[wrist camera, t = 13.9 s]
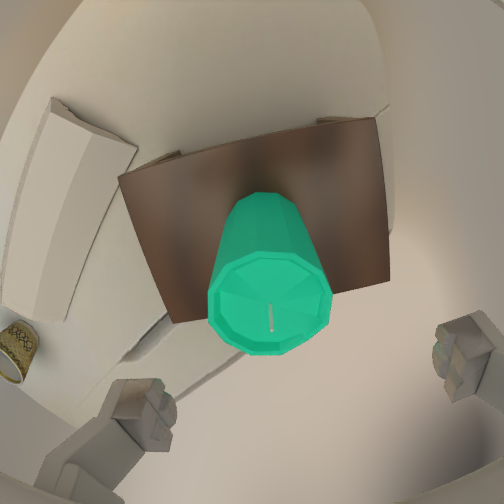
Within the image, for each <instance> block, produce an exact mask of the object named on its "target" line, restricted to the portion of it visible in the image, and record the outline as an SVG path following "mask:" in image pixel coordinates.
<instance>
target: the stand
mask: <svg viewBox="0 0 504 504" xmlns="http://www.w3.org/2000/svg"><path fill="white" fill-rule="evenodd" d="M117 179H118V182H119V185H120V188H121V191H122V194H123V197H124V200H125V203H126V206H127V209H128V212H129V215H130V218H131V221H132V223H133V226H134V229H135V232H136V234H137V237H138V240H139V242H140V245H141V248H142V250H143V253H144V256H145V258H146V261H147V263H148V266H149V268H150V271H151V273H152V276H153V278H154V281H155V283H156V286H157V288H158V290H159V293H160V295H161V297H162V300H163V302H164V304H165V307H166V309H167V311H168V314H169V316H170V318H171V320H172V323H173V324H175V323H181V322H188V321H194V320H201V319H207V318H208V289H209V285H210V281H211V277H212V273H213V269H214V265H215V261H216V257H217V253H218V249H219V245H220V242H221V238H222V234H223V230H224V226H225V223H226V219H227V217H228V215H229V214H230V212H231V211H232V209H233V208H234V206H235V204H236V203H237V201H239V200H241V199H243V198H245V197H247V196H249V195H251V194H253V193H255V192H266V193H278V194H280V195H281V196H283V197H284V198H286V199H287V200H289V201H291V202H292V203H294V204H295V206H296V208H297V210H298V212H299V214H300V216H301V218H302V220H303V222H304V224H305V227H306V229H307V232H308V234H309V236H310V239H311V241H312V243H313V246H314V248H315V251H316V253H317V256H318V258H319V260H320V263H321V265H322V268H323V270H324V273H325V275H326V278H327V280H328V283H329V285H330V288H331V291H332V293H333V294H336V293H341V292H346V291H350V290H354V289H358V288H363V287H367V286H371V285H375V284H379V283H383V282H387V281H390V256H389V255H390V254H389V232H388V217H387V204H386V193H385V183H384V175H383V166H382V158H381V151H380V144H379V138H378V131H377V125H376V119H375V118H374V117H364V118H352V117H325V118H318V119H317V124H316V125H311V126H305V127H299V128H294V129H289V130H283V131H278V132H274V133H269V134H264V135H259V136H255V137H250V138H246V139H242V140H237V141H233V142H229V143H225V144H221V145H217V146H213V147H209V148H206V149H202V150H198V151H195V152H191V153H187V154H184V155H181V154H180V151H179V150H178V151H175V152H171V153H168V154H165V155H163V156H161V157H159V158H157V159H155V160H153V161H151V162H148V163H146V164H144V165H142V166H140V167H138V168H136V169H134V170H132V171H129V172H126V173H124V174H122V175H120V176H118V177H117Z"/></svg>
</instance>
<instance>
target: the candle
mask: <svg viewBox="0 0 504 504" xmlns="http://www.w3.org/2000/svg"><path fill="white" fill-rule="evenodd" d="M332 297H333V293H332V291H331V288H330V285H329V283H328V280H327V278H326V275H325V273H324V270H323V268H322V265H321V263H320V260H319V258H318V256H317V253H316V251H315V248H314V246H313V243H312V241H311V239H310V236H309V234H308V232H307V229H306V227H305V224H304V222H303V220H302V218H301V216H300V214H299V212H298V210H297V208H296V206H295V204H294V203H292V202H291V201H289V200H287V199H286V198H284V197H283V196H281V195H280V194H278V193H266V192H255V193H253V194H251V195H249V196H247V197H245V198H243V199H241V200H239V201H237V203H236V204H235V206H234V208H233V209H232V211H231V212H230V214H229V215H228V217H227V219H226V223H225V226H224V230H223V234H222V238H221V242H220V245H219V249H218V253H217V257H216V261H215V265H214V269H213V273H212V277H211V281H210V285H209V289H208V323H209V324H210V325H211V326H212V328H213V329H214V330H215V331H216V332H217V334H218V335H219V336H220V337H221V338H222V339H223V341H224V342H225V343H227V344H229V345H231V346H233V347H235V348H237V349H239V350H241V351H243V352H245V353H247V354H249V355H282V354H284V353H286V352H288V351H289V350H291V349H293V348H295V347H297V346H298V345H300V344H302V343H304V342H305V341H307V340H309V339H310V338H311V337H313V336H314V335H315V334H316V333H318V332H319V331H320V330H321V329H322V328H324V327H325V326H326V325H327V324H328V323H329V315H330V310H331V303H332Z"/></svg>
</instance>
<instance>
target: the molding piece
mask: <svg viewBox="0 0 504 504" xmlns="http://www.w3.org/2000/svg"><path fill="white" fill-rule="evenodd" d="M68 109H69V108H67V107H65V106H64V105H62V104H61V102H60V101H58V100H56V99H55V98H54V97H51V98H50V100H49V103H48V105H47V107H46V110H45V112H44V114H43V117H42V119H41V122H40V124H39V127H38V129H37V132H36V134H35V137H34V140H33V143H32V145H31V148H30V151H29V154H28V157H27V160H26V163H25V166H24V169H23V173H22V176H21V179H20V183H19V187H18V190H17V194H16V198H15V202H14V206H13V210H12V214H11V219H10V223H9V228H8V233H7V238H6V244H5V250H4V256H3V263H2V270H1V303H2V305H3V306H5V307H7V308H9V309H11V310H12V311H14V312H16V313H18V314H20V315H22V316H24V317H26V318H28V319H30V320H32V321H47V322H64V321H65V317H66V314H67V311H68V308H69V305H70V302H71V299H72V296H73V293H74V290H75V287H76V284H77V282H78V279H79V276H80V273H81V271H82V268H83V265H84V263H85V260H86V258H87V255H88V252H89V250H90V247H91V245H92V243H93V240H94V238H95V235H96V233H97V231H98V228H99V226H100V224H101V221H102V219H103V217H104V215H105V213H106V210H107V208H108V206H109V204H110V202H111V200H112V197H113V195H114V193H115V191H116V189H117V187H118V185H119V182H118V179H117V177H118V176H120V175H122V174H124V173H125V171H126V169H127V167H128V165H129V164H130V162H131V160H132V158H133V156H134V154H135V152H136V150H137V149H138V148H137V147H136V146H133V145H131V144H128V143H126V142H124V141H123V140H121V139H120V138H119V137H118V136H116V135H114V134H112V133H110V132H108V131H105V130H103V129H100V128H98V127H95V126H92V125H90V124H88V123H86V122H83V121H81V120H79V119H78V118H76V117H75V116H74V114H73V113H72V112H70V111H68Z"/></svg>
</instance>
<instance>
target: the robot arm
mask: <svg viewBox="0 0 504 504" xmlns="http://www.w3.org/2000/svg"><path fill="white" fill-rule="evenodd" d="M435 336H436V338H437V340H438V341H437V343H436V344H435V345H434V347H433V353H432V358H433V365H434V368H435V371H436V373H437V375H438V376H439V377H441V378H443V379H445V384H444V388H445V390H446V392H447V394H448V396H449V398H450V400H451V402H452V403H453V402H456V401H458V400H461V399H463V398H466V397H468V396H471V395H473V394H476V396H478V397H479V398H481V399H482V400H484V401H485V402H487V403H488V404H490V405H491V406H493V407H494V408H496V409H497V410H499V411H500V412H502V413H503V414H504V336H503V335H502V333H501V332H500V331H499V330H498V329H497V328H496V326H495V325H494V324H493V323H492V321H491V320H490V319H489V318H488V317H487V315H486V314H485V313H484V312H483V311H480V310H479V311H476V312H474V313H471V314H468V315H466V316H463V317H460V318H457V319H455V320H452V321H449V322H446V323H443V324H440V325H438V327H437V329H436V334H435ZM164 389H165V385H164V384H163V382H162V381H161V379H157V378H151V379H116V380H115V381H114V382H113V383H112V385H111V387H110V389H109V392H108V394H107V396H106V398H105V401H104V403H103V405H102V407H101V410H100V412H99V414H98V417H97V418H96V417H93V418H92V419H91V420H90V421H89V422H87V423H86V424H85V425H84V426H82V427H81V428H80V429H79V430H78V431H76V432H75V433H74V434H73V435H71V436H70V437H69V438H68V439H66V440H65V441H64V442H63V443H62V444H60V445H59V446H58V447H57V448H55V449H54V450H53V451H52V452H50V453H49V454H48V455H47V456H46V458H45V460H44V462H43V465H42V467H41V469H40V471H39V474H38V476H37V479H36V481H35V483H34V486H30V485H28V484H26V483H23V482H21V481H19V480H17V479H14V478H12V477H10V476H8V475H6V474H4V473H2V472H0V504H124V503H125V502H124V500H123V499H122V498H121V497H119V496H118V495H117V494H115V493H114V492H112V491H113V490H114V489H115V488H116V487H117V485H118V484H119V483H120V482H121V481H122V480H123V478H124V477H125V476H126V475H127V474H128V473H129V472H130V470H131V469H132V468H133V467H134V466H135V465H136V463H137V462H138V461H139V460H140V459H141V457H142V456H143V455H144V454H145V452H169V450H170V445H171V441H172V437H173V434H172V432H171V431H170V428H171V427H172V426H173V425H174V424H175V423H176V419H177V407H176V404H175V401H174V399H173V398H172V396H171V395H170V394H168V393H166V392H165V391H164ZM392 504H504V456H503V457H501V458H499V459H498V460H496V461H494V462H492V463H490V464H488V465H486V466H485V467H483V468H481V469H479V470H477V471H475V472H472V473H470V474H468V475H467V476H464V477H462V478H460V479H457V480H455V481H453V482H451V483H448V484H446V485H443V486H441V487H438V488H436V489H433V490H431V491H428V492H425V493H423V494H420V495H417V496H414V497H411V498H408V499H405V500H402V501H398V502H395V503H392Z"/></svg>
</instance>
